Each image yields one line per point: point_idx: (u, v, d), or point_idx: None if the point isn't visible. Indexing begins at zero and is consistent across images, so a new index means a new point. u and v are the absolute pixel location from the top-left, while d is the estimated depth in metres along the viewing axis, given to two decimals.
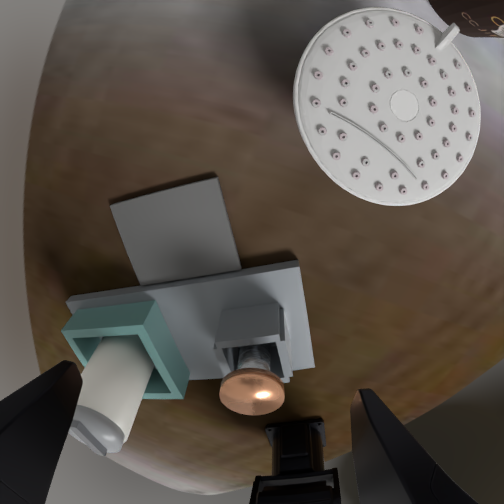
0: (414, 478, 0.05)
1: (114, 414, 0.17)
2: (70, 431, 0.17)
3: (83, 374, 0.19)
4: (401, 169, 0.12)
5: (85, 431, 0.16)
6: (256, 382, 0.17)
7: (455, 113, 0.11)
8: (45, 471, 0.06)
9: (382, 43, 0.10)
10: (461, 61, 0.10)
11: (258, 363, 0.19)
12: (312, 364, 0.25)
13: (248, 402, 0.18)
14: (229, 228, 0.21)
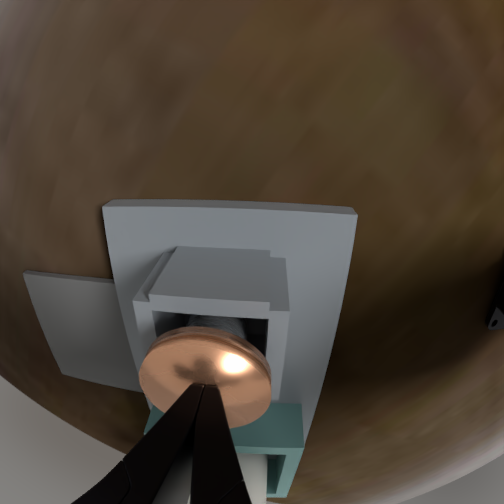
0: (211, 488, 0.05)
1: None
2: None
3: None
4: None
5: None
6: (152, 374, 0.08)
7: None
8: None
9: None
10: None
11: None
12: (347, 218, 0.11)
13: None
14: (67, 279, 0.14)
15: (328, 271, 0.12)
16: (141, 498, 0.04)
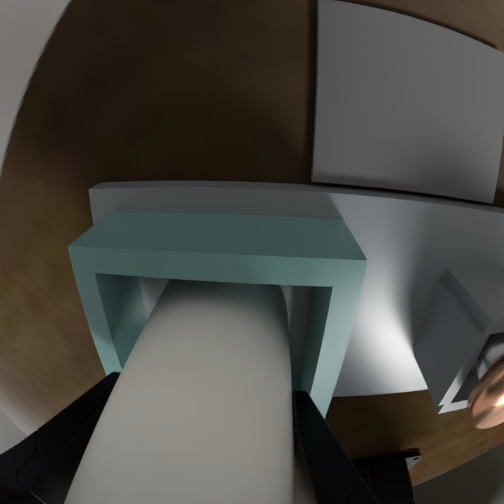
0: (333, 490, 0.05)
1: None
2: None
3: (142, 395, 0.06)
4: None
5: None
6: None
7: None
8: None
9: None
10: None
11: None
12: None
13: None
14: (502, 131, 0.09)
15: None
16: (44, 464, 0.05)
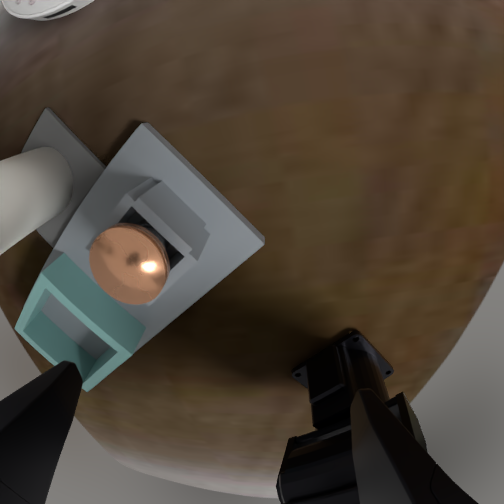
0: (414, 478, 0.05)
1: None
2: None
3: None
4: None
5: None
6: (108, 239, 0.13)
7: None
8: (45, 471, 0.06)
9: None
10: None
11: None
12: (257, 241, 0.18)
13: (128, 279, 0.14)
14: (74, 138, 0.17)
15: (225, 259, 0.19)
16: None
